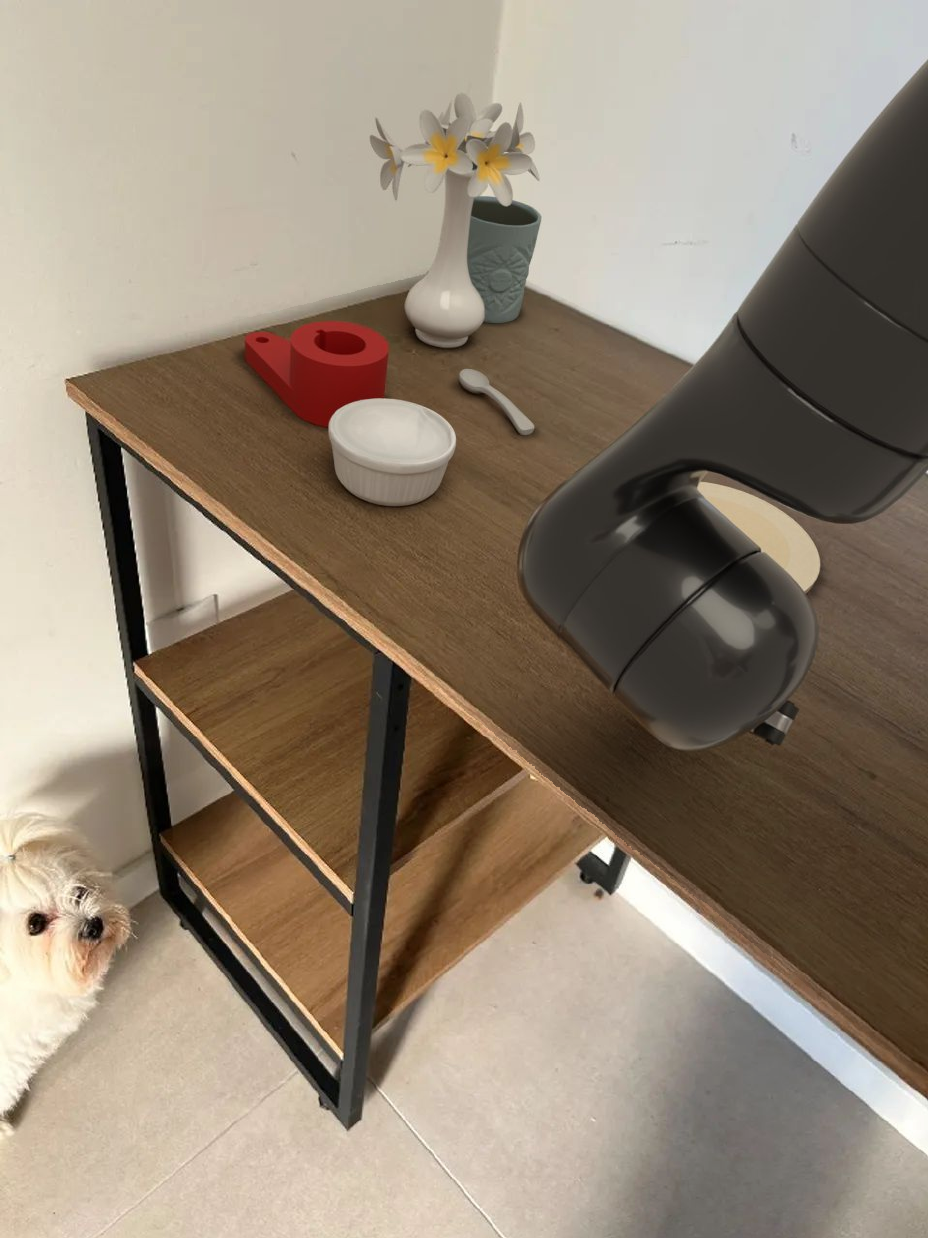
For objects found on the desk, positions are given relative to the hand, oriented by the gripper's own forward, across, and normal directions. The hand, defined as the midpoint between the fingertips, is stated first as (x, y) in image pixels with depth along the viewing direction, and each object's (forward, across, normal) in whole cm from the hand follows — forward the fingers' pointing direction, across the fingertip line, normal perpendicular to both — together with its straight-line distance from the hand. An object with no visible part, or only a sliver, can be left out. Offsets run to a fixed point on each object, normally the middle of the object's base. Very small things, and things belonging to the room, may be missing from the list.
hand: (697, 692), depth 64 cm
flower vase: (+31, +47, -25) cm, 61 cm away
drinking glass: (+39, +48, -33) cm, 70 cm away
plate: (+20, +6, -14) cm, 25 cm away
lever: (+16, +50, -11) cm, 54 cm away
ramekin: (+11, +34, -5) cm, 36 cm away
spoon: (+24, +34, -19) cm, 46 cm away
